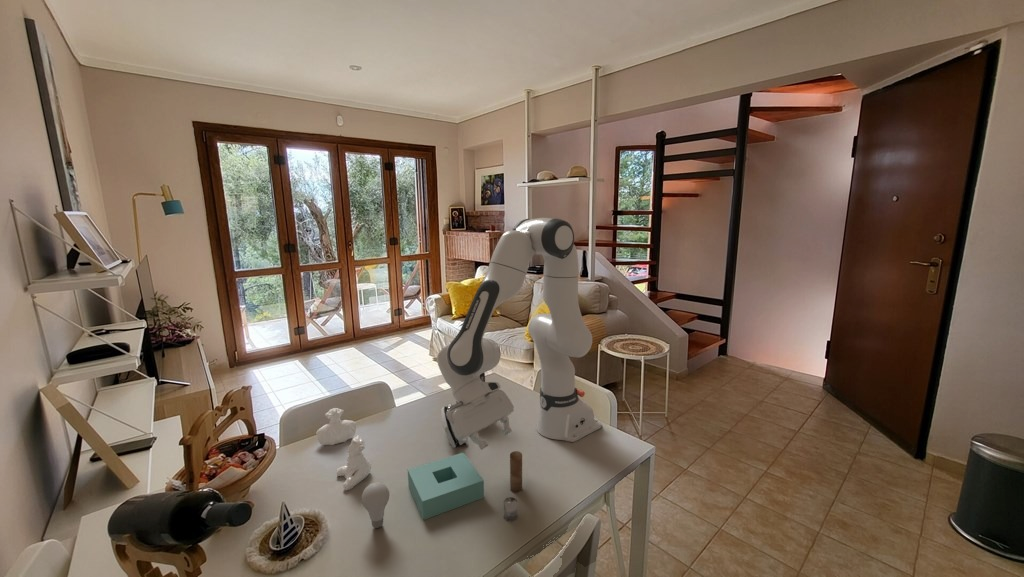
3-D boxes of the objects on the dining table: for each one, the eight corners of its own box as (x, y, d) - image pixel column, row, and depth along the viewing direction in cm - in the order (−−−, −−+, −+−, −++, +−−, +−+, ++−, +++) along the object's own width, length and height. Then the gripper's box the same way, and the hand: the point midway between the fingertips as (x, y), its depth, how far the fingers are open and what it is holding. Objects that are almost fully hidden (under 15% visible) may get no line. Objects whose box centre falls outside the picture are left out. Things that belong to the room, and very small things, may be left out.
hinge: (468, 446, 128) (456, 419, 125) (454, 452, 127) (442, 426, 125) (462, 420, 144) (452, 396, 141) (450, 425, 143) (439, 402, 141)
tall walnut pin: (518, 483, 110) (518, 450, 108) (524, 490, 107) (524, 456, 105) (508, 487, 109) (507, 453, 107) (513, 494, 106) (513, 459, 104)
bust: (357, 440, 135) (351, 407, 140) (359, 436, 130) (353, 401, 134) (317, 451, 130) (313, 416, 134) (318, 447, 124) (313, 410, 128)
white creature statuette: (335, 474, 114) (331, 435, 112) (365, 463, 120) (362, 425, 117) (344, 492, 107) (341, 451, 105) (377, 479, 112) (374, 439, 110)
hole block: (463, 468, 117) (463, 452, 116) (483, 497, 105) (483, 480, 104) (408, 485, 109) (407, 469, 108) (423, 519, 97) (422, 501, 96)
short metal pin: (513, 509, 100) (513, 495, 100) (519, 518, 98) (519, 503, 97) (501, 514, 99) (501, 499, 98) (507, 522, 96) (507, 508, 95)
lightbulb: (374, 514, 99) (371, 474, 97) (396, 520, 97) (393, 479, 95) (358, 533, 93) (354, 491, 91) (381, 539, 91) (378, 496, 89)
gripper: (448, 404, 105) (474, 452, 101) (502, 380, 120) (527, 421, 116) (438, 414, 109) (463, 461, 104) (491, 390, 124) (515, 430, 119)
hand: (497, 440), depth 110 cm, fingers open, 8 cm apart
